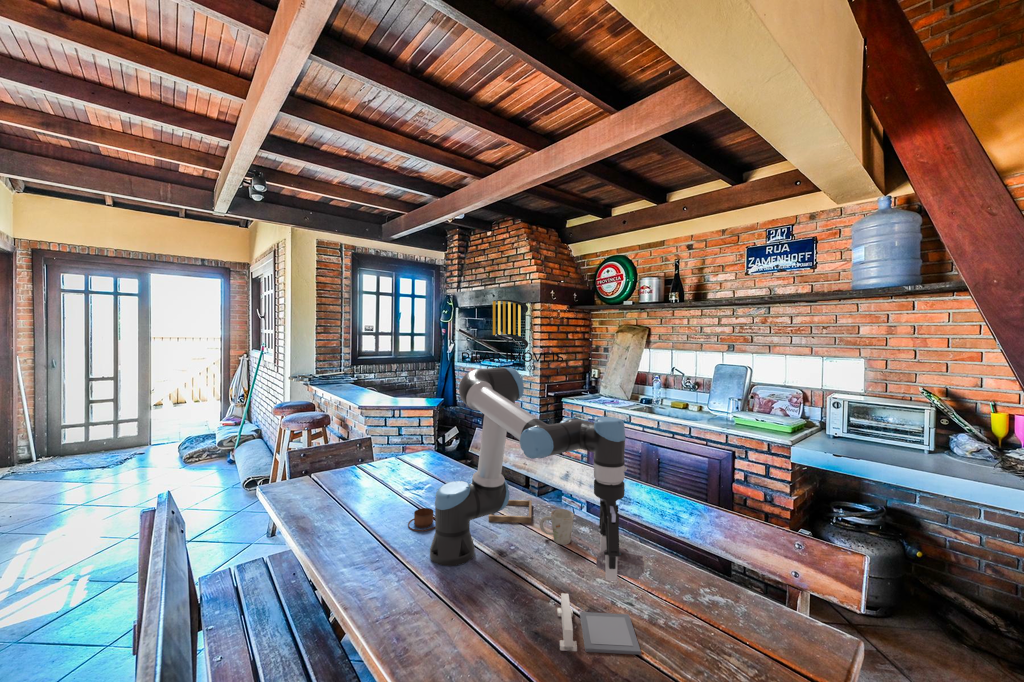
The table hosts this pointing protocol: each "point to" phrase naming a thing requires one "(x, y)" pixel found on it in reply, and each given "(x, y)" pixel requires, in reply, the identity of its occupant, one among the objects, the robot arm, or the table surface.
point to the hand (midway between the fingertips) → (608, 569)
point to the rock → (624, 563)
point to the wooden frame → (514, 518)
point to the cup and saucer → (423, 519)
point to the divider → (566, 624)
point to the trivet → (609, 633)
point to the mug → (560, 525)
